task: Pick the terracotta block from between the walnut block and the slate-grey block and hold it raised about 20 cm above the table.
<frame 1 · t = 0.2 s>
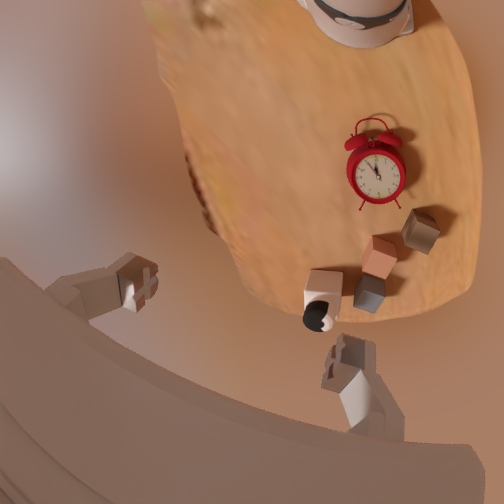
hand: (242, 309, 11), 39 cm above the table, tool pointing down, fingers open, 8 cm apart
alarm clock: (374, 160, 41), on the table
terracotta block: (378, 250, 49), on the table
walnut block: (417, 224, 43), on the table
medicine bottle: (326, 282, 58), on the table
slate-grey block: (369, 286, 54), on the table
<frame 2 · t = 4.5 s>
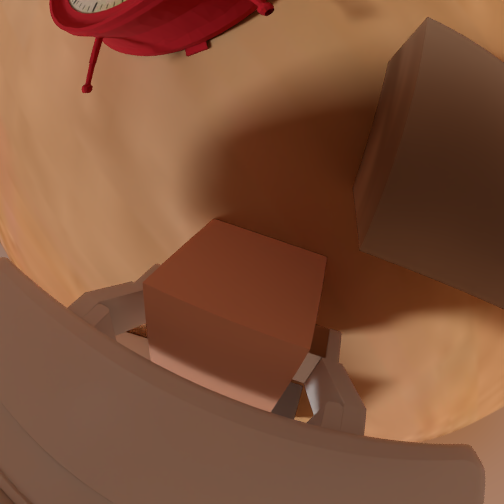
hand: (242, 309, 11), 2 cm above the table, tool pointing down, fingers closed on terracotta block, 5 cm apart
terracotta block: (256, 283, 13), on the table, touching gripper
walnut block: (433, 151, 8), on the table
medicine bottle: (148, 360, 20), on the table
slate-grey block: (256, 390, 17), on the table
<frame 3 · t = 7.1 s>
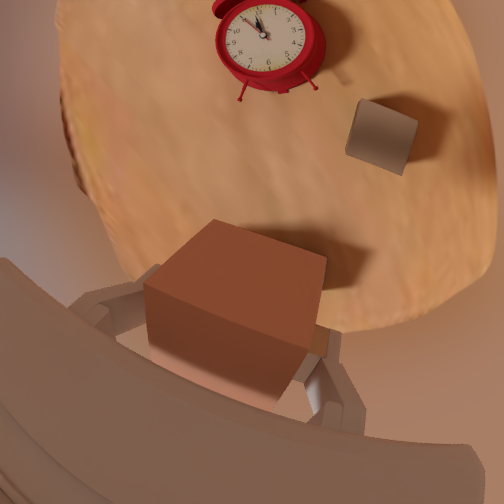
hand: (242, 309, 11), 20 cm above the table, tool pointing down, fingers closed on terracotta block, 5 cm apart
alarm clock: (271, 33, 21), on the table
terracotta block: (256, 284, 13), point 18 cm above the table, touching gripper
walnut block: (375, 134, 23), on the table
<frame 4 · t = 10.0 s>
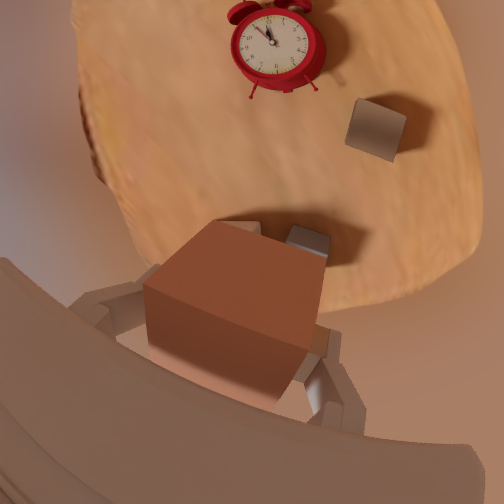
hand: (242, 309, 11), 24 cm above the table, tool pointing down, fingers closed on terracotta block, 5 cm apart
alarm clock: (278, 39, 24), on the table
terracotta block: (256, 284, 13), point 22 cm above the table, touching gripper
walnut block: (371, 128, 26), on the table
slate-grey block: (306, 246, 36), on the table
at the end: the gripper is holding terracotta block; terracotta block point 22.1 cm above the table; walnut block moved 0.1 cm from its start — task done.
